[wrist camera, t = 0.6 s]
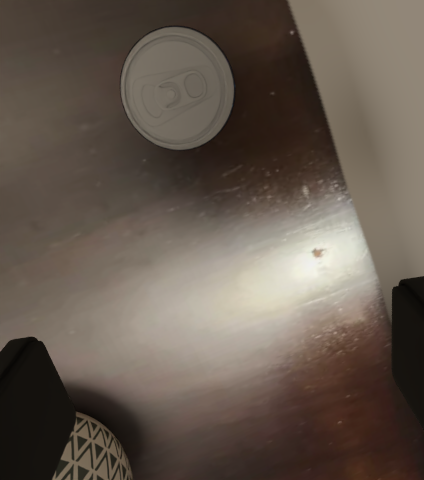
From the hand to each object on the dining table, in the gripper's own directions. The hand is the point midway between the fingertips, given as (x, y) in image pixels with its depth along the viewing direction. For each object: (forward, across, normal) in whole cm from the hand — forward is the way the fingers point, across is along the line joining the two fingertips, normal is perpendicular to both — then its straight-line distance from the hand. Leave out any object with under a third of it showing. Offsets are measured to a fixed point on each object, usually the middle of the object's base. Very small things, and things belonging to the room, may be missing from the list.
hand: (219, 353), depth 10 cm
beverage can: (+22, +1, -6) cm, 23 cm away
